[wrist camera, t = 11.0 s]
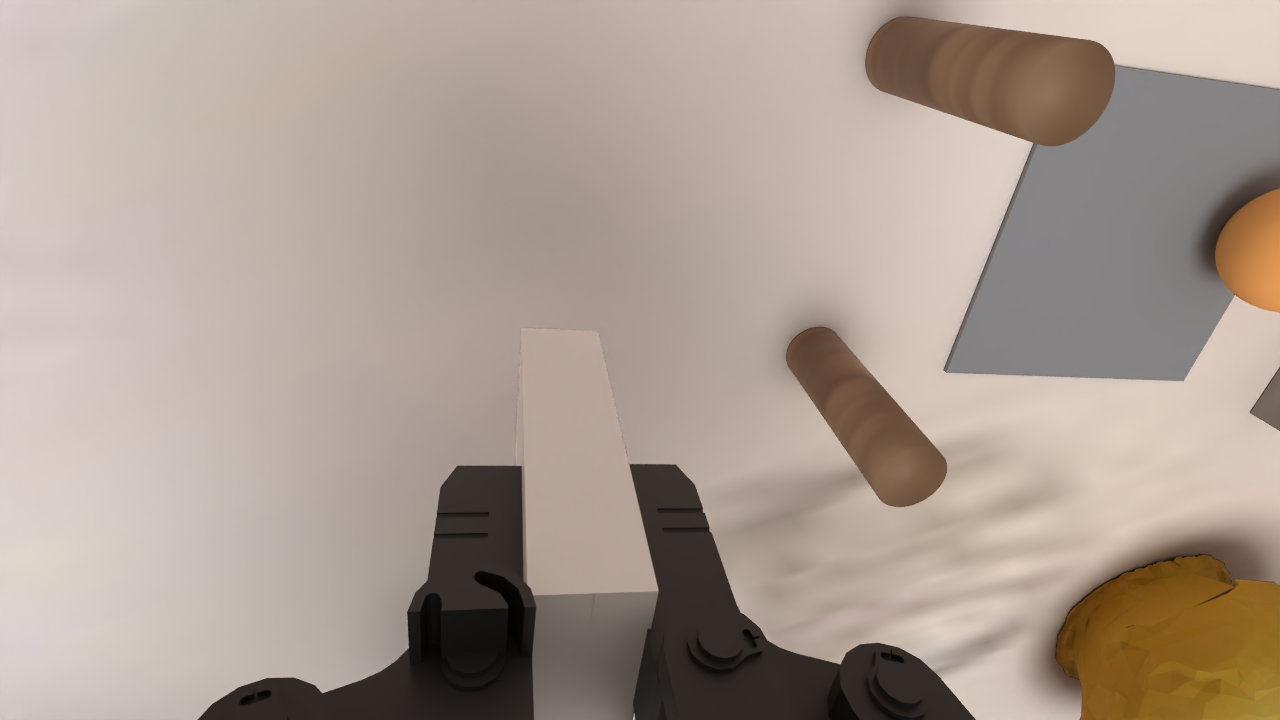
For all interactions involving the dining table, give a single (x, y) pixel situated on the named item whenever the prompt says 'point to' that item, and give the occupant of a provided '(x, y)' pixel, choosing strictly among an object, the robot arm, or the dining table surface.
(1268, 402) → the wall
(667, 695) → the robot arm
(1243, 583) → the pitcher
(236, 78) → the dining table surface
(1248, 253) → the ball
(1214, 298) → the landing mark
